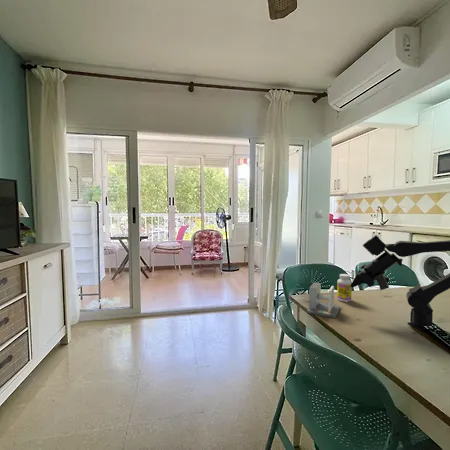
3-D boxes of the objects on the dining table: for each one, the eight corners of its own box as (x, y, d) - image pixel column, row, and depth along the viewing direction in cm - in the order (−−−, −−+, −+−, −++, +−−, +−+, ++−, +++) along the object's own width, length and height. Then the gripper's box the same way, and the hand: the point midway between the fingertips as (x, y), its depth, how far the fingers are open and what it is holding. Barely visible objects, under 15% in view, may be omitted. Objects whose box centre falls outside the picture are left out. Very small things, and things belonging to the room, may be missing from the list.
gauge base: (340, 307, 124) (340, 305, 124) (335, 318, 112) (335, 315, 112) (313, 303, 130) (313, 301, 130) (306, 312, 118) (306, 310, 118)
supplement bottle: (336, 300, 134) (336, 275, 133) (337, 297, 140) (337, 272, 139) (351, 302, 131) (351, 277, 130) (351, 299, 136) (352, 274, 136)
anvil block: (320, 303, 127) (320, 283, 126) (316, 310, 118) (316, 288, 118) (313, 302, 128) (314, 282, 128) (309, 309, 120) (309, 287, 119)
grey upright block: (333, 305, 123) (334, 286, 123) (329, 313, 113) (330, 292, 113) (316, 302, 127) (316, 284, 127) (311, 310, 117) (311, 290, 117)
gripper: (399, 285, 99) (364, 309, 105) (396, 274, 115) (366, 295, 121) (375, 262, 102) (343, 286, 108) (375, 255, 118) (347, 276, 124)
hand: (351, 286), depth 115 cm, fingers closed
